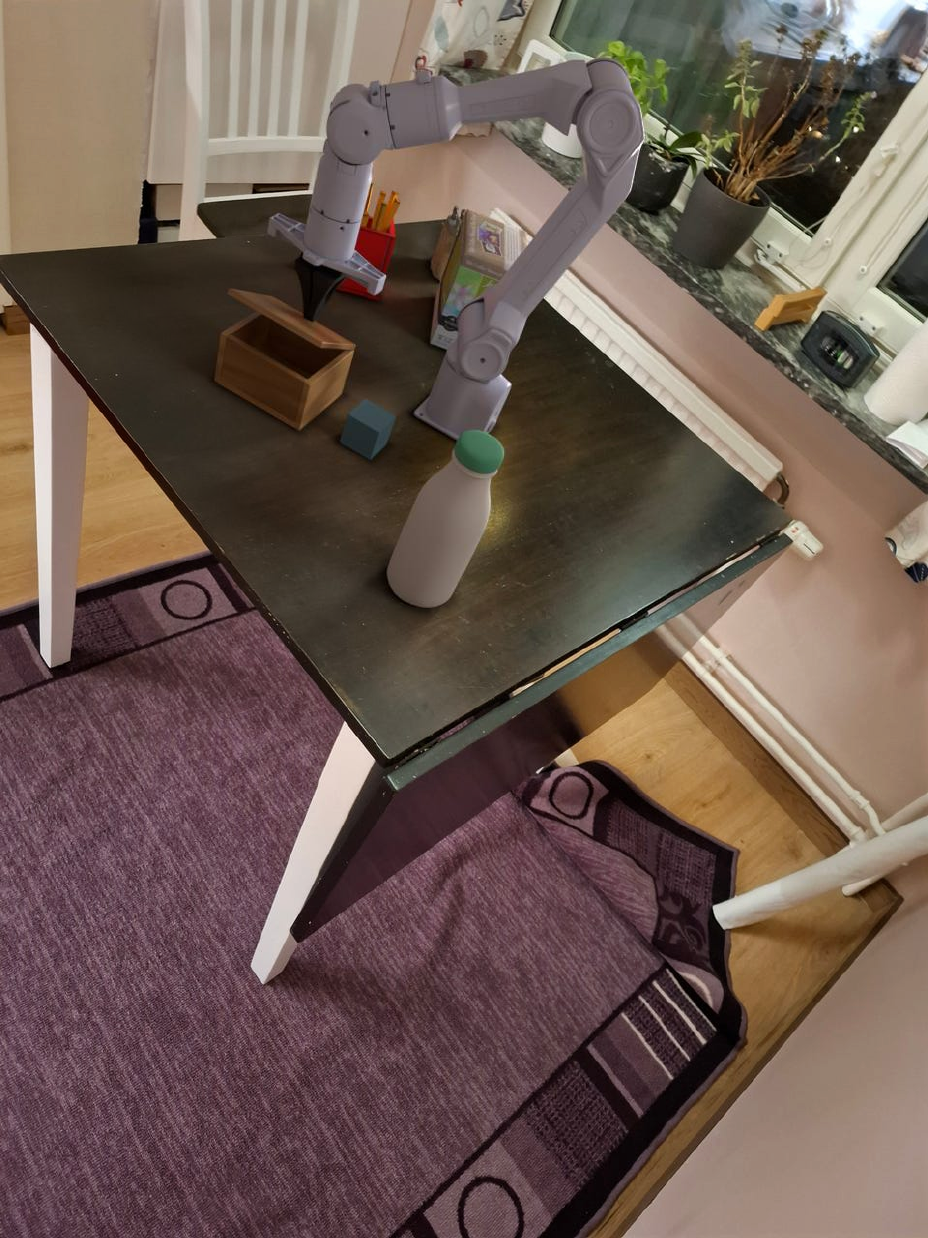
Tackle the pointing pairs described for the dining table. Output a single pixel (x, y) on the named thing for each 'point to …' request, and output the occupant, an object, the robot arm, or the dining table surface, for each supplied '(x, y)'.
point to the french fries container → (375, 239)
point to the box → (280, 370)
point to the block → (367, 429)
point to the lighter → (446, 242)
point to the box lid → (292, 320)
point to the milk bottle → (446, 523)
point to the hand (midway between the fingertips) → (312, 316)
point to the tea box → (473, 269)
